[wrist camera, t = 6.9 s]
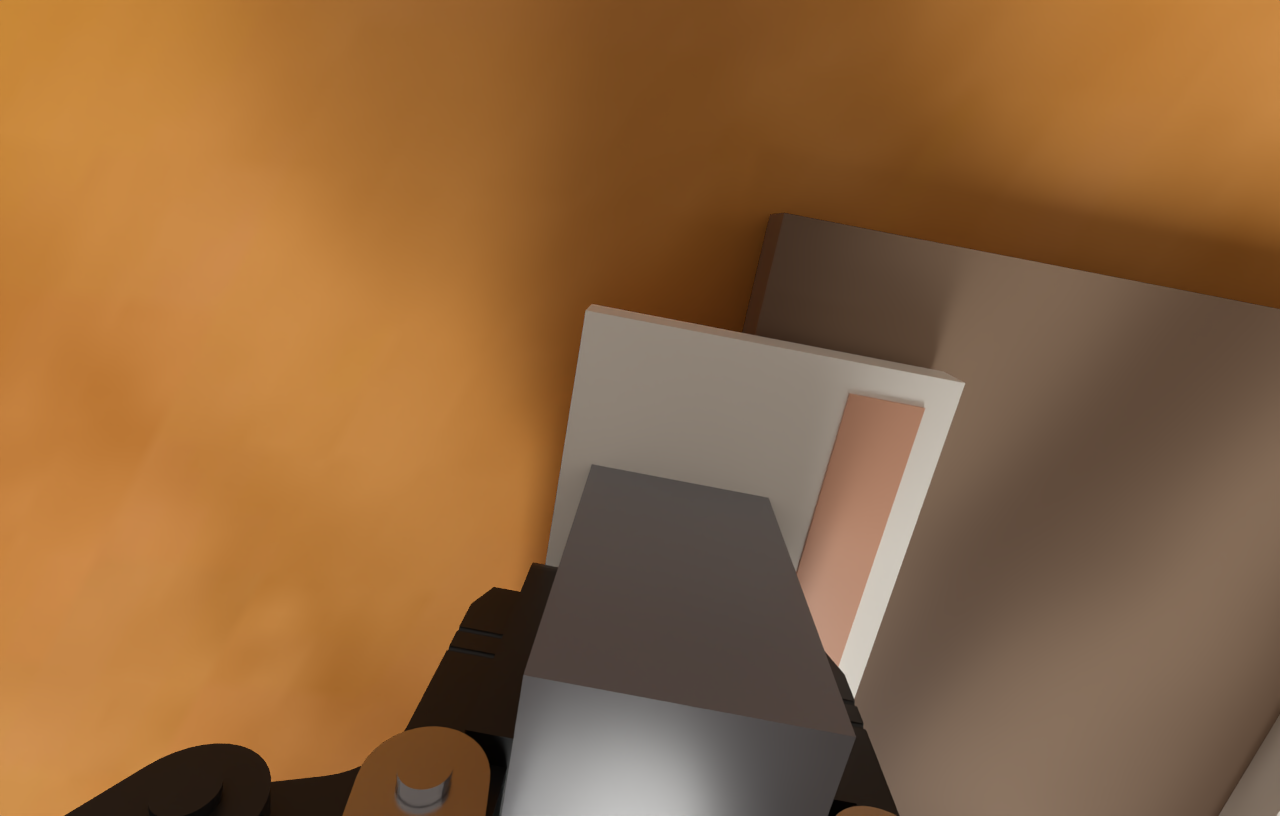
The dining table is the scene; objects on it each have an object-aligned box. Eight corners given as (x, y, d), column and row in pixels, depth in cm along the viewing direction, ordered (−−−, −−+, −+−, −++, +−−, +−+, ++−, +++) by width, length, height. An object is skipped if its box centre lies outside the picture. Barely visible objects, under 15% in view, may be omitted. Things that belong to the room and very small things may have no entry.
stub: (943, 371, 10) (1263, 542, 5) (792, 817, 13) (882, 1246, 8) (592, 304, 10) (500, 396, 5) (516, 766, 13) (406, 1162, 8)
